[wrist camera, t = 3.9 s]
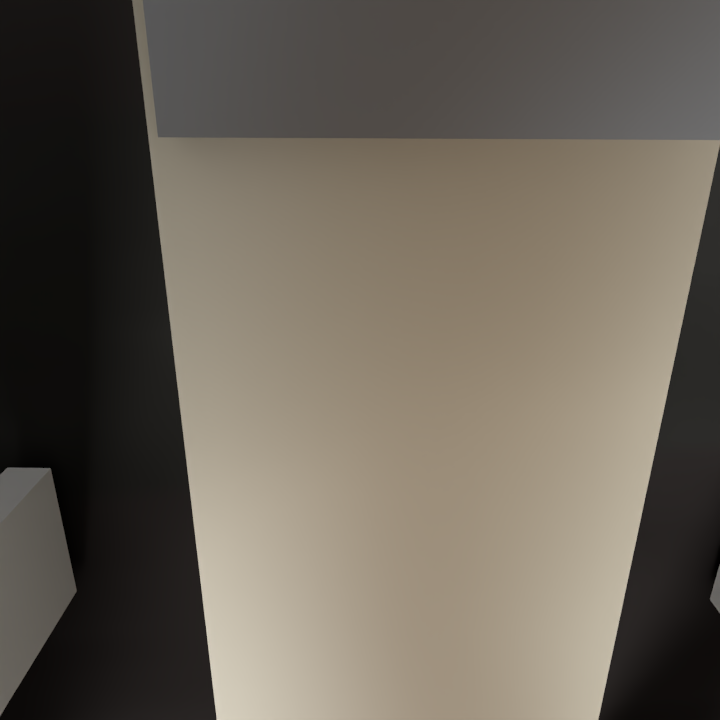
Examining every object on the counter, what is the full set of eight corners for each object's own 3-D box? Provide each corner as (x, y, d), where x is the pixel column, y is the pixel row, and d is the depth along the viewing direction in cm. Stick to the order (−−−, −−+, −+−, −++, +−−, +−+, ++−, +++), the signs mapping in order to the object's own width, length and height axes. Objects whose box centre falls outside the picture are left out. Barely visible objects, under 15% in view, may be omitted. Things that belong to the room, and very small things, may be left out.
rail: (300, 847, 15) (265, 1209, 10) (250, -143, 8) (28, -625, 3) (461, 850, 15) (506, 1215, 10) (565, -143, 8) (934, -635, 3)
